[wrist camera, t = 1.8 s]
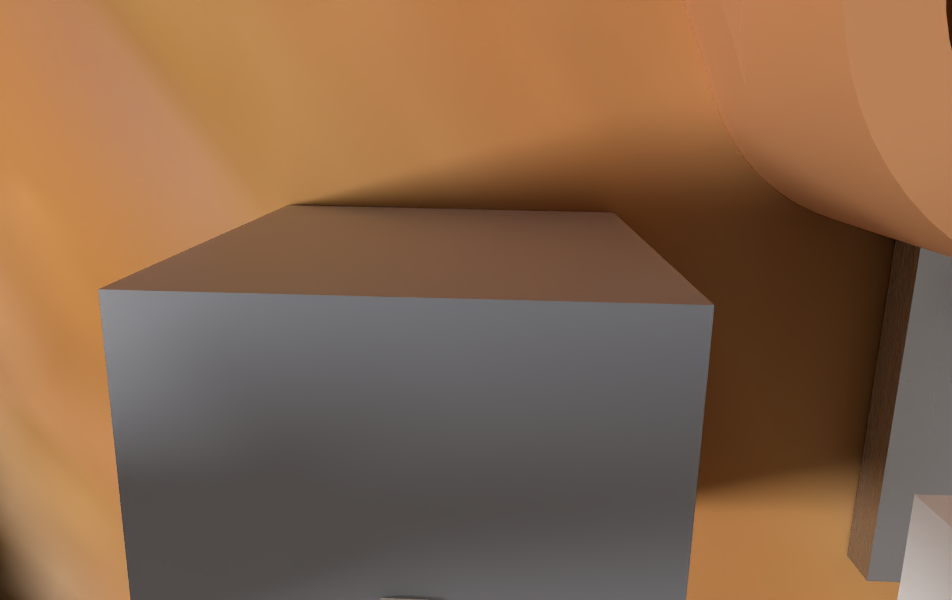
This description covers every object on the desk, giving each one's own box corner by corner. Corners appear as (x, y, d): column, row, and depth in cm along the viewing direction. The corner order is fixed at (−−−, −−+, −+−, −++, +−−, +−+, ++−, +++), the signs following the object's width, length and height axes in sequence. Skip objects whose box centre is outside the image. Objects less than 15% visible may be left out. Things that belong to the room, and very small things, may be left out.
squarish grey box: (288, 205, 16) (89, 293, 9) (613, 212, 16) (719, 309, 8) (300, 499, 18) (143, 801, 10) (594, 508, 18) (669, 823, 10)
